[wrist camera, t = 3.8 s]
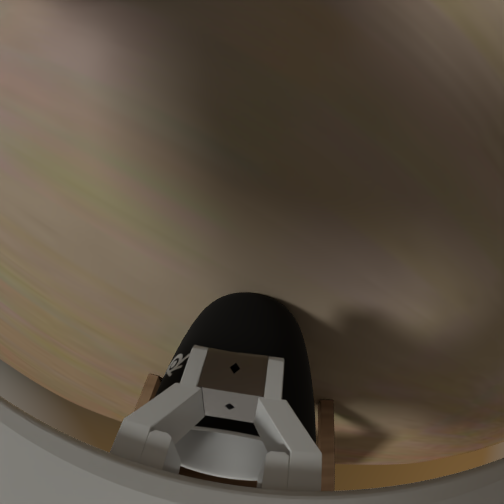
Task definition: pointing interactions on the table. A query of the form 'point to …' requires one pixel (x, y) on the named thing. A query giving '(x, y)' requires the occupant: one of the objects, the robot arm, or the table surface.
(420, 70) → the table surface
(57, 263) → the table surface
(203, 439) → the mug
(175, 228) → the table surface
